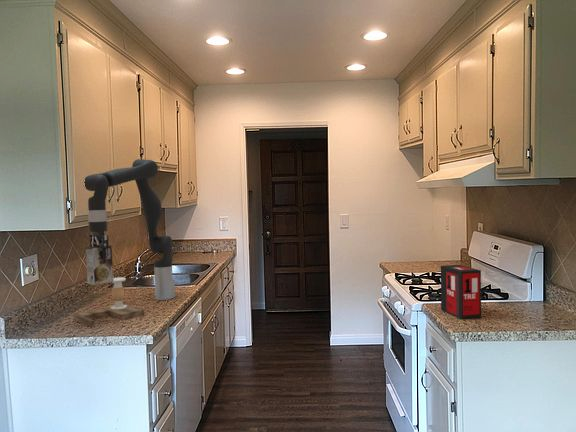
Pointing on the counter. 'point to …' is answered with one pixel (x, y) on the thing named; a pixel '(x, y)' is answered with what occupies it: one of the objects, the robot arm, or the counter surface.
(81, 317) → the notched board
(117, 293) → the bobbin
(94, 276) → the coffee box
